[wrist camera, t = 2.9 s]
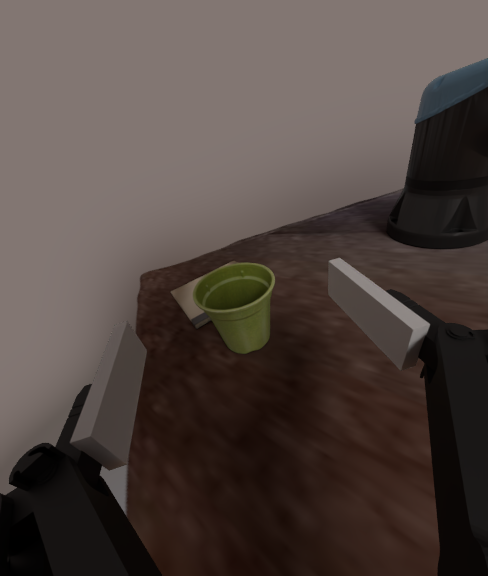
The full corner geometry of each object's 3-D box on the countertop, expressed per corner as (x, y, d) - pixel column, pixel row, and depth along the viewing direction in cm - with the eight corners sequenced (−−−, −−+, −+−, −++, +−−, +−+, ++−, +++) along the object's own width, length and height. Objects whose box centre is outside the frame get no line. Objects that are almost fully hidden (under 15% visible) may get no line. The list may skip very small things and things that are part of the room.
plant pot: (235, 307, 36) (221, 259, 31) (293, 319, 32) (286, 265, 27) (200, 353, 30) (175, 302, 25) (265, 376, 25) (250, 320, 21)
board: (234, 263, 48) (233, 260, 47) (270, 286, 39) (269, 281, 38) (172, 295, 43) (170, 291, 43) (196, 329, 34) (194, 324, 34)
